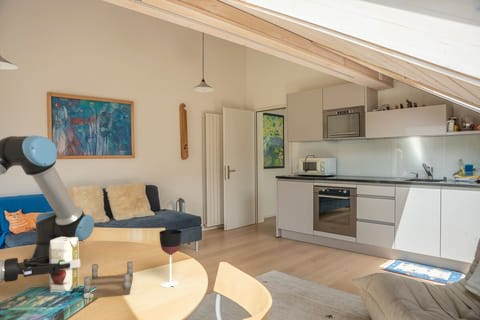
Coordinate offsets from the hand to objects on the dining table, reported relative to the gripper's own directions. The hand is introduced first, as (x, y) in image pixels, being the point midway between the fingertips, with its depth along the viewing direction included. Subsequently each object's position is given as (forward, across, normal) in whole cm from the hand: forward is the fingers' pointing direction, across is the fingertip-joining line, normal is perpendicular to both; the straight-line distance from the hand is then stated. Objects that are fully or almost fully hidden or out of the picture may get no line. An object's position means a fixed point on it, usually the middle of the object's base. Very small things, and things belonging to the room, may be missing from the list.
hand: (78, 259), depth 122 cm
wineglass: (+30, +16, -11) cm, 36 cm away
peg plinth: (+10, +7, -10) cm, 16 cm away
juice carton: (-5, 0, -11) cm, 12 cm away
